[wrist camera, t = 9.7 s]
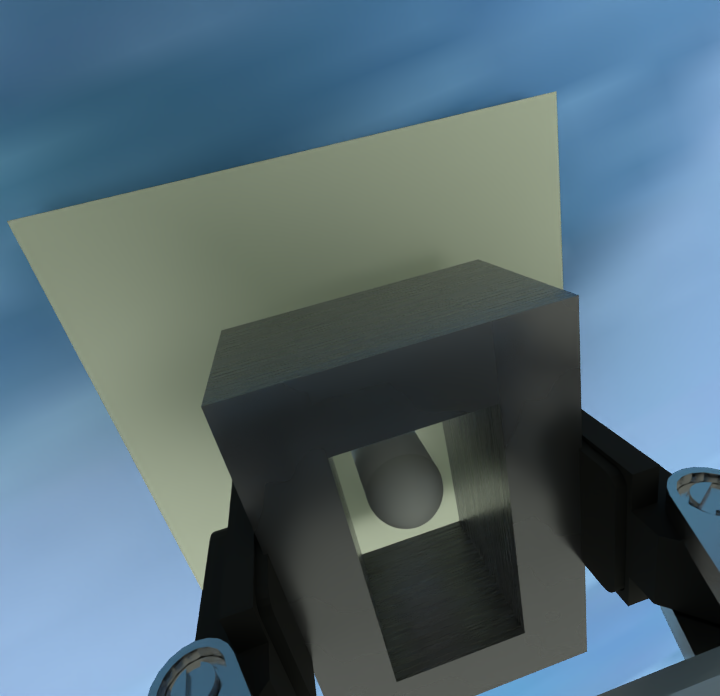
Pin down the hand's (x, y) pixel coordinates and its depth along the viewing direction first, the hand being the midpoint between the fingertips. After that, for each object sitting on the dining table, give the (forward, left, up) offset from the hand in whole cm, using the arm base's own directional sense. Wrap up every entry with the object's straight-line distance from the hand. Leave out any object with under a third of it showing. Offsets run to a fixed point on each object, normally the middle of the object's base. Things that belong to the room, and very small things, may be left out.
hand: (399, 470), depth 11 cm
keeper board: (0, 0, -5) cm, 5 cm away
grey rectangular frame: (0, 0, -1) cm, 1 cm away
